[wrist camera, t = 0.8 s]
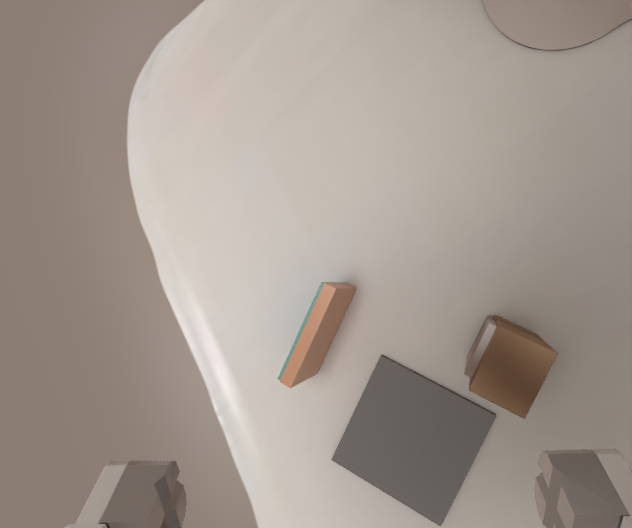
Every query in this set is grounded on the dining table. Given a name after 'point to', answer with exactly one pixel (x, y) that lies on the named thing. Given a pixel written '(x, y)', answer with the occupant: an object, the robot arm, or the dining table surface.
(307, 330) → the tile
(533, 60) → the dining table surface
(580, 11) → the robot arm
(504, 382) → the tall wooden block
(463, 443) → the rest mat
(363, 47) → the dining table surface
